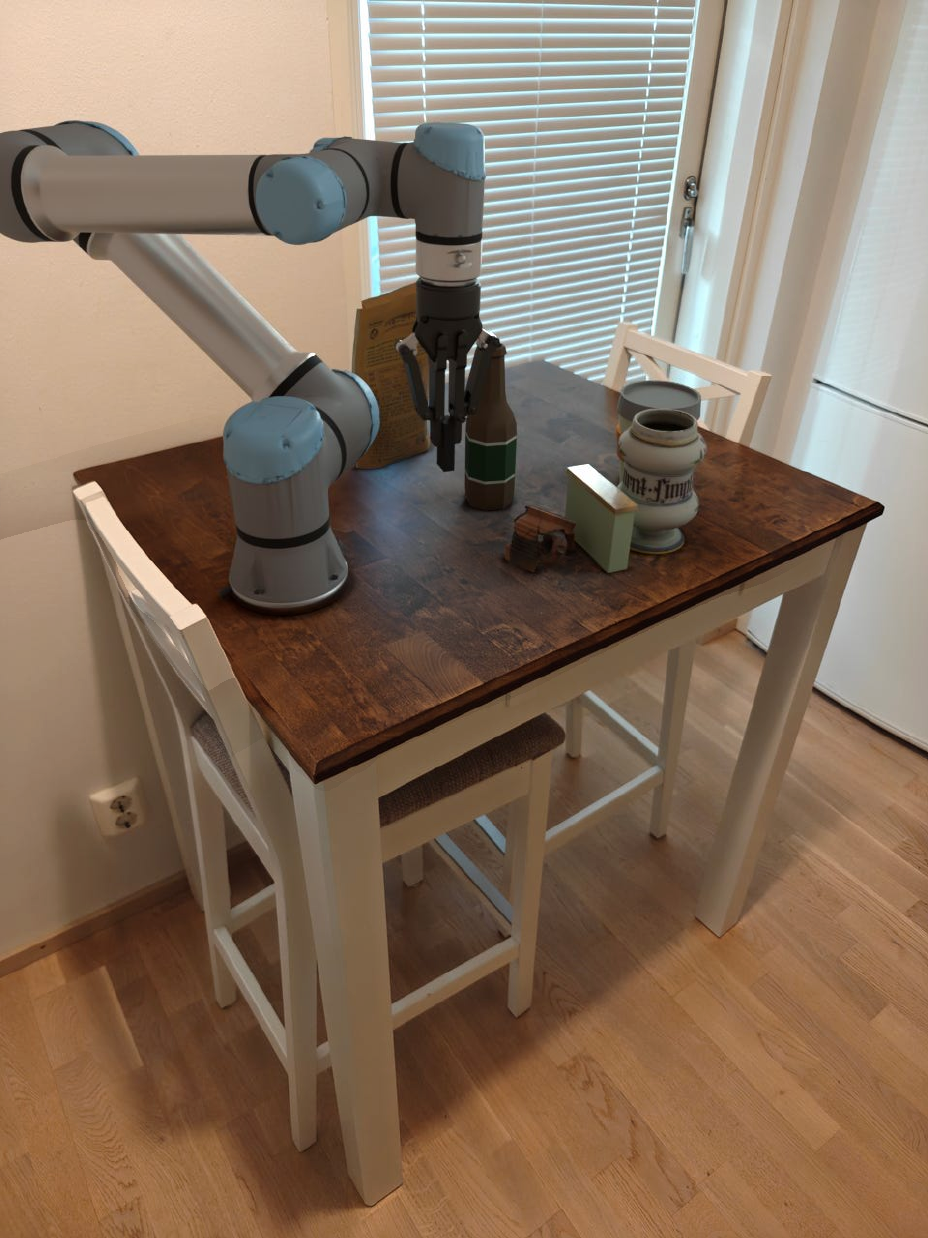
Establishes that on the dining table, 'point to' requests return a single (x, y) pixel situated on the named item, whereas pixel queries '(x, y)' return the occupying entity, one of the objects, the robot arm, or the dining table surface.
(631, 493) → the apothecary jar
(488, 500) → the beer bottle
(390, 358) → the pancake mix bag
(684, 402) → the grey lidded canister
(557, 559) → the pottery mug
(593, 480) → the back wall
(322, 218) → the robot arm
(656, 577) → the dining table surface
